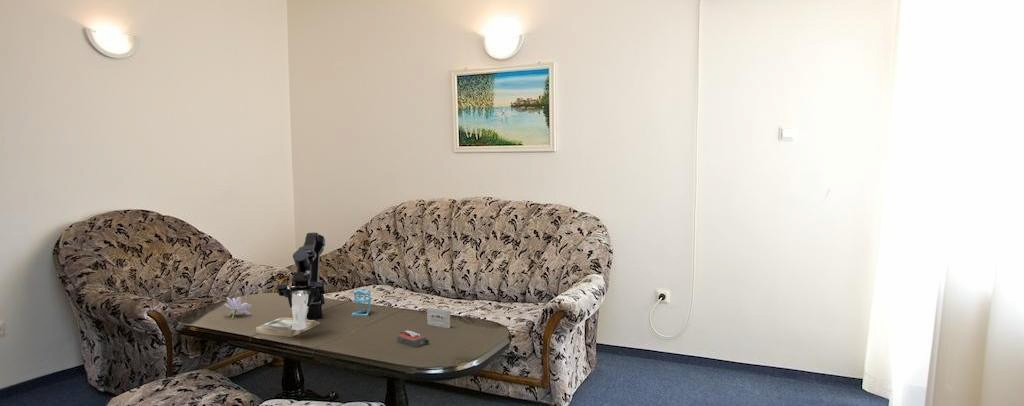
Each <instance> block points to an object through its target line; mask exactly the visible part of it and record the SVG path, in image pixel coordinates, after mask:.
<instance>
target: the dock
mask: <svg viewBox="0 0 1024 406" xmlns="http://www.w3.org/2000/svg"><path fill="white" fill-rule="evenodd" d="M306 322H307V328H306V329H304V330H293V329H292V323H293V317H279V318H276V319H274V320H271V321H269V322H266V323H264V324H261V325H259V326H257V327H255V331H256V332H255V333H256V334H259V335H269V336H276V337H277V336H279V337H289V338H292V337H294V336H297V335H300V334H301V333H303V332H306V331H307V330H311V329H313V328H315V327H317V326H319V325H320V321H316V319H312V320H308V319H306Z"/></svg>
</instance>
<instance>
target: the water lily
mask: <svg viewBox="0 0 1024 406" xmlns="http://www.w3.org/2000/svg"><path fill="white" fill-rule="evenodd" d="M226 301H227V303H224V306H225V307H226V308H229V309H231V310H230V312H229V313H230V316H231V315H232V317H231V320H234V316H235V314H236V313H239V314H240V313H241V314H243V315H246V316H251V315H252V313H251V312H249V311H248V310H247V309H249V308H251V307H252V304H249V303H248V302H243V303H242V298H241V297H240V296H238V297H236V299H235V298H234V297H232V300H231V298H229V297H227V296H226Z"/></svg>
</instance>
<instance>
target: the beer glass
mask: <svg viewBox="0 0 1024 406" xmlns="http://www.w3.org/2000/svg"><path fill="white" fill-rule="evenodd" d="M291 294H292V299H291V308H290V309H291V313H292V318H293V323H292V329H293V330H304V329H306V328H307V322H306V320H307V313H308V308H309V307H308V302H309V292H308V291H303V290H299V291H292V292H291Z"/></svg>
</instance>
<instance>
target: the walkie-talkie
mask: <svg viewBox="0 0 1024 406" xmlns="http://www.w3.org/2000/svg"><path fill="white" fill-rule="evenodd" d="M399 333H400V334H398V335H397V336H396V337H397V343H400V344H402V345H406V346H409V347H410V348H411V347H412V348H419V347H421V346H425V345H427V344H428V343H430V340H429V339H427V337H426V336H422V335H421V334H420V333H417V332H415V331H412V330H408V329H407V330H399Z"/></svg>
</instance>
